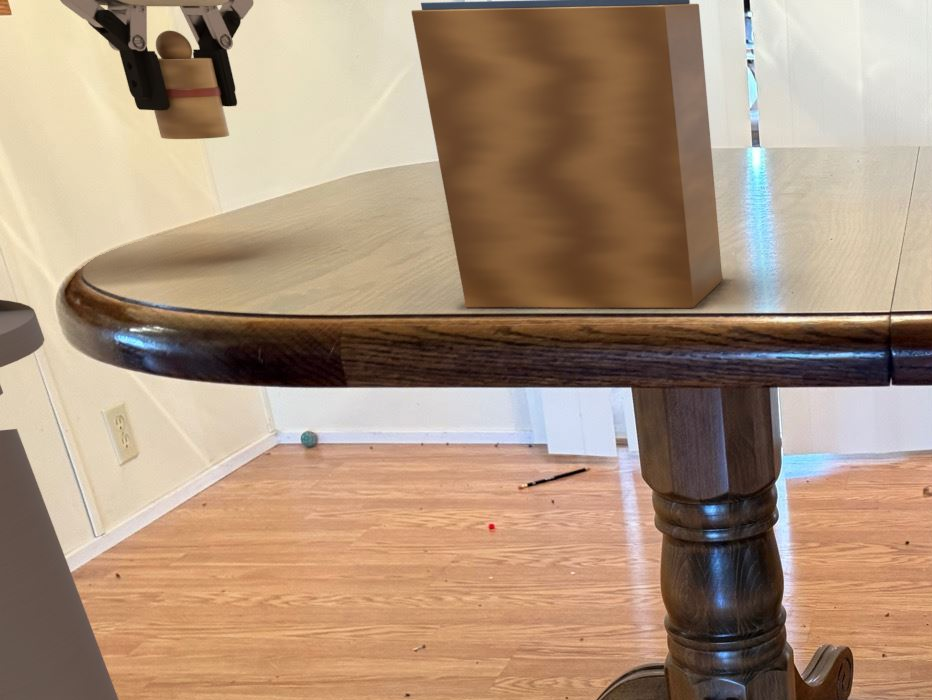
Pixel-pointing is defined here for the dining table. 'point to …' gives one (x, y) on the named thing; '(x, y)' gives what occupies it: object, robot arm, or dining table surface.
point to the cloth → (544, 4)
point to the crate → (574, 154)
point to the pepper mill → (188, 92)
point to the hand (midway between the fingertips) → (187, 105)
